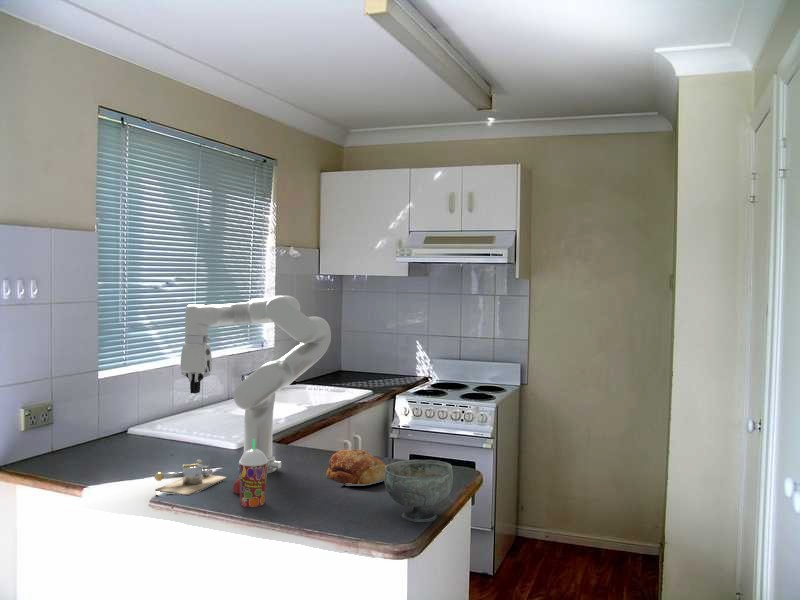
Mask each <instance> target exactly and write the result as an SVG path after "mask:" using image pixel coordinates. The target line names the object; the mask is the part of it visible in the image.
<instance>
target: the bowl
mask: <svg viewBox="0 0 800 600" xmlns="http://www.w3.org/2000/svg"><path fill="white" fill-rule="evenodd" d="M386 465H387V466H385V481H384V482H383V483H384V486H385V490H386V491H387V493H388V495H389V496H390V497H391V499H392V500H394V501H395V502H396V503H397V504H398V505H400V506H403V507H411V509H408V510H405V511H404V512H403V513H402V514H401V517H402V518H403V519H404V520H407V521H410V522H414V523H429V522H432V521H434V520H436V519H437V518H438V516H437V513H435V512H434V511H432V510H430V509H427V507H431V506H435V505H438V504H440V503H441V502H443V501H444V500H445V499H446V498H447V497H448V496H449V495H450V493H451V491H452V490H453V489H452V488H453V481H454V472H453V465H452V464H451V463H448V462H446V461H440V460H435V459H410V460H409V459H408V460H401V461H396V462H391V463H389V464H386Z"/></svg>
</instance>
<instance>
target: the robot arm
mask: <svg viewBox="0 0 800 600" xmlns="http://www.w3.org/2000/svg"><path fill="white" fill-rule="evenodd" d="M184 314H185V315H184V316H185V317H184V319H185V320H184V343H183V344H182V348H181V349H182V350H181V354H180V370H181V375H182V376H184V377H186V378H187V379H188V382H189V383H190V384H189V385H190V386H189V390H190V394H199V393H201V382H203V379H204V378H208V377H210V375H211V374H210V373H211V372H212V370H213V363H212V362H213V360H212V357H213V356H212V350H211V345H210V343H208V342H211V338H210V337H209V335H208V334H209V333H208V331H209V330H208V328H209V327H211V328H212V327H213V328H215V327H223V326H224V327H225V326H233V325H244V324H252V325H258V324H259V325H260V324H261V325H262V324H267V323H269V324H271V323H274V324H275V325H276V326H277V327H278V328H280V329H281V330H282V331H284V332H285V333H286V334H287V335H289V337H291V338H292V339H294V340H295V341H296V342H298V343H299V344H298V345H296V346H295V347H293V348H292V349H291V350H289V352H287V353H286V354H285V355H283V356H281V357H280V358H278V359H275V360H272V361H268V362H266V363H264V364H263V365H260V366H259V367H258V368H257V369H256V370H254V372H251V374H249V375H248V376H247V377H246V378H245V379H243V380H242V381H241V382H239V384H237V386H236V387H235V389H234V391H233V401H234V403H235V405H236V406H237V407H239V408H240V410H241V409H242V410H244V418H243V419H244V421H243V423H244V424H243V454H244V453H245V452H246V451H247V450H249V449H253V439H255V449H259V450H261V451H262V452H263V453H264V454H265V456H266V458H267V460H268V467H267V475H268V474H271V473H273V472H276V471H277V469H281V467H282V461H281V460H280V461H279V460H276V457H275V456H273V428H274V427H273V425H274V422H273V421H274V407H275V400H276V392H278V391H279V390H281V389H283V388H286V387H288V386H290V385H291V384H292V383H293V382H294V381H296V379H298V378H299V377H300V376H301V375H303V374H304V373H306V371H308V370H309V369H310V368H311V367H313V365H315V364H316V363H317V362H319V360H320V359H321V358H322V357H324V355H325V354H326V353H327V351H328V350H329V347H330V344H331V341H332V332H331V327H330V324H329V323H328V321H327V320H326V319H324V318H322V317H320V316H315V315H313V316H307V315H305V314H304V312H303V311H302V312H301V304H300V302H299V300H298V299H297V298H296V297H294V296H291V295H275V296H272V297H263V298H254V299H253V298H252V299H251V300H249V301H246V302H245V301H244V302H236V303H223V304H222V303H220V304H218V303H217V304H207V305H205V304H195V303H194V304H188V305H186V307H185V313H184Z"/></svg>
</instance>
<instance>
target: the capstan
mask: <svg viewBox="0 0 800 600" xmlns="http://www.w3.org/2000/svg"><path fill="white" fill-rule="evenodd" d="M213 473H214V470H213V469H211V468H210V469H205V470H203V464H196V463H188V464H182V471H174V472H173V471H172V472H161V471H160V472H159V471H158V472H156V473H155V475H154V479H155V481H157V482H161V481H162V480H168V479H179V478H180V479H183V484H186V485H195V484H200V483H202V479H203V475H213Z"/></svg>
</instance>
